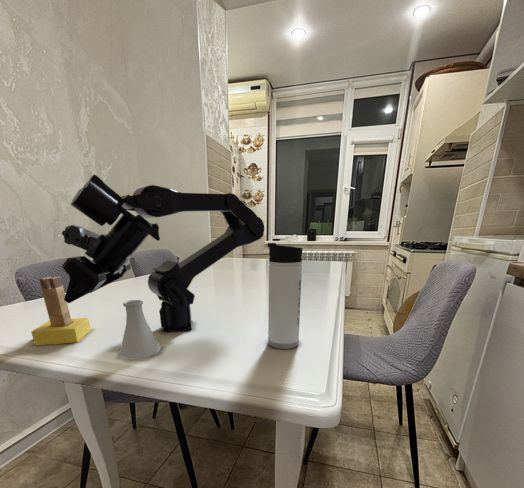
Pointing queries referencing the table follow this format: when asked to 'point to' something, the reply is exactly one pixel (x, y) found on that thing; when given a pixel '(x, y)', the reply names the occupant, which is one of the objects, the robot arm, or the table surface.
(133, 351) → the flask
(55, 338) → the holder
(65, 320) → the peg
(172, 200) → the robot arm
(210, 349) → the table surface
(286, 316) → the travel mug
